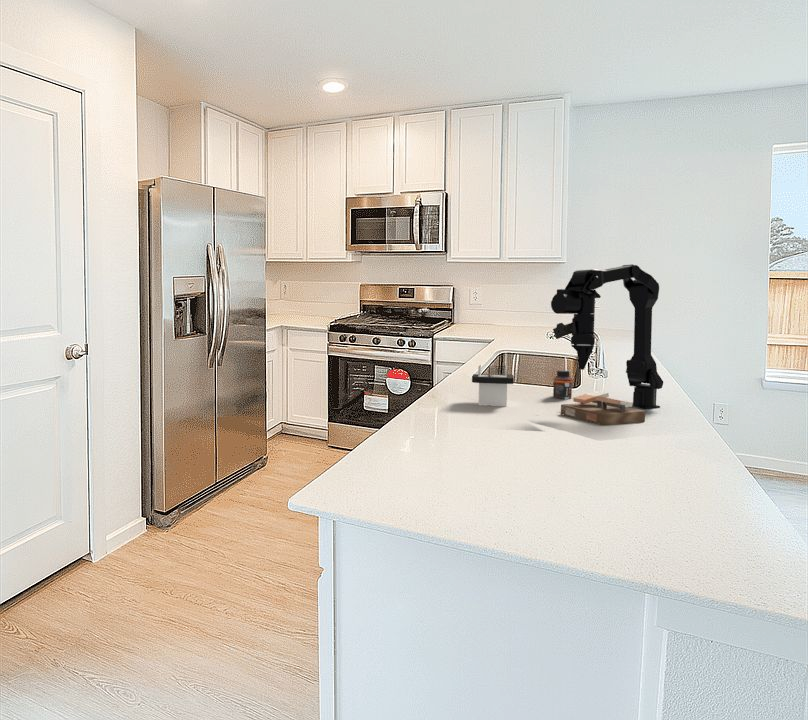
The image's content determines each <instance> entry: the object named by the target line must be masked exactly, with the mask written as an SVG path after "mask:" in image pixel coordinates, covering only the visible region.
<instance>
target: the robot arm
mask: <svg viewBox="0 0 808 720" xmlns="http://www.w3.org/2000/svg"><path fill="white" fill-rule="evenodd" d="M616 281H623V282H622V283H623V287H624V288H625V289H626V290H627V291H628V295H629V297H628V298H629V301H630V302H631V304H632V306H633V307H634V326H633V329H634V330H633V355H632V356H631V358H630V359H627V360H626V362H625V363H626V368H625V369H626V370H625V373H626V376H627V380H628V385H629V387H633V389H634V390H633V396H632V403H633V404H632V407H637V408H641V409H655V408H657V407H658V408H660V407H661V406H660V405H657V391H658V390H660V389H662V388H663V385H664V380H663V379H662V378H661V376H660V374H659V373H658V368H657V362H656V361H655V359H654V357H653V356H652V330H653V327H652V326H653V308H654V306H655V304H656V303H657V301H658V299H659V293H660V284H659V282H658V281H657V279H655V278H654V277H653V275H652V274H649V273H648V272H646V271H645V270H642V269H641V267H639V266H638V265H637V264H636V263H635V264H634V263H633V264H623V265H621V266H616V267H610V268H605V269H581V270H574V271H573V273H572V276H571V278H570V279H569V281H568V283H567V285H566V286H565V288H561V289H556V293H555V294H554V296H553V297H552V299H551V301H550V307H551V310H552V311H553V313H555V314H559V315H560V314H561V315H562V314H563V315H570V314H571V315H572V314H573V318H572V319H571V322H570V323H566V324H564V323H563V322H560V323H557V324H556V327H555V328H552V331H553V334H554V337H555V340H558V339H561V338H562V337H565V336H568V335H571V337H570V344H571V348H573V349H574V350H575V351H576V353H577V360H578V365H579V369H580V370H581V371H584V370H585V368H586V366H587V363H588V361H589V359H590V356H591V355H592V351H593V349H594V347H595V339H596V338H595V336H596V335H595V310H596V299H600V298H601V295H600V294H599V293H598V291H597V289H599V288H601V287H602V286H603V285H604V284H607V283H611V282H616Z"/></svg>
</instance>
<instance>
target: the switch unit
mask: <svg viewBox="0 0 808 720" xmlns="http://www.w3.org/2000/svg"><path fill="white" fill-rule="evenodd" d="M561 414H564V415H563V416H565V415H566V416H565V417H569V418H574V419H578V420H582V421H585V422H590V423H592V424H593V423H594V424H598V425H602V426H608V425H609V426H610V425H619V424H620V425H621V424H633V423H642V422H643V423H644V422H645V421H646V410H641V409H637V408H632V407H628V406H625V405H620V408H617V407H613V406H608V405H605V402H603V401H598V400H597V403H593V402H590V403H587V404H583V403H578V402H576V403H565V404H560V415H561Z"/></svg>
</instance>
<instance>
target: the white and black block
mask: <svg viewBox="0 0 808 720" xmlns="http://www.w3.org/2000/svg"><path fill="white" fill-rule="evenodd" d="M477 367H478V368H477V369H478V373H474V374H472V376H471V383H473V384H474V383H475V384H478V406H487V405H491V406H490V407H507V406H508V404H507V402H508V385H514V378H515V377H514V374H507V372H508V368H507V367H508V366H507V365H490V364H489V367H488V373H485V374H484V373H483V374H482V372H481V371H482V369H481V367H482V365H481V364H480V365H479V366H477ZM494 369H495V371H494ZM499 369H500V371H499ZM504 369H505V371H504ZM535 416H539V415H535Z"/></svg>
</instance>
